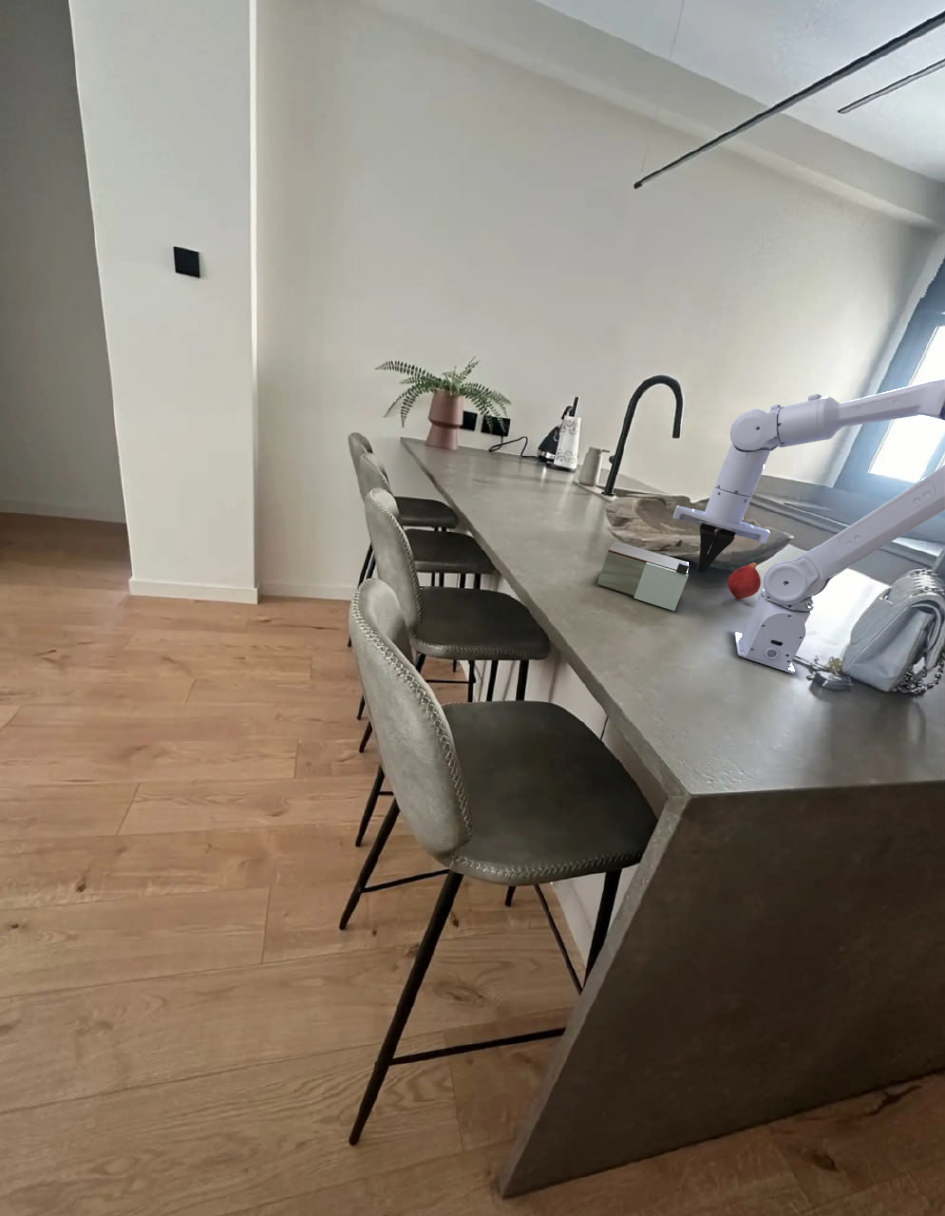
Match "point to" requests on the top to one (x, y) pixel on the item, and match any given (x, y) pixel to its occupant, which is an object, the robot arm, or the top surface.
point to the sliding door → (662, 585)
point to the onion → (744, 581)
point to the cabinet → (630, 567)
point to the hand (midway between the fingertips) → (700, 570)
